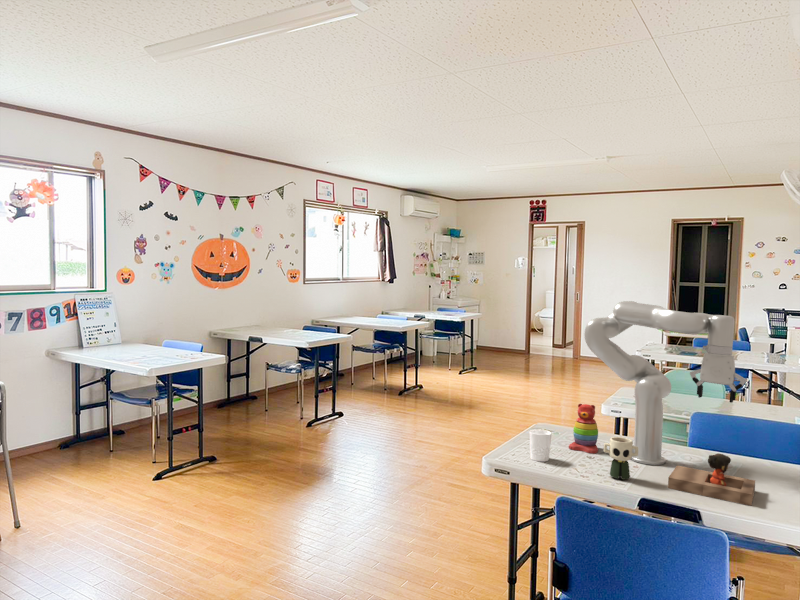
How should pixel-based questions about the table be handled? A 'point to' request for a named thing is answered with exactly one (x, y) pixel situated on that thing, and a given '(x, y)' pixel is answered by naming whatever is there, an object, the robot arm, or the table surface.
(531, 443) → the white cup
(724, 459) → the figurine
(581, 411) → the stacking bear
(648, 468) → the table surface
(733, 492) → the jig
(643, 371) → the robot arm
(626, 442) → the character mug
